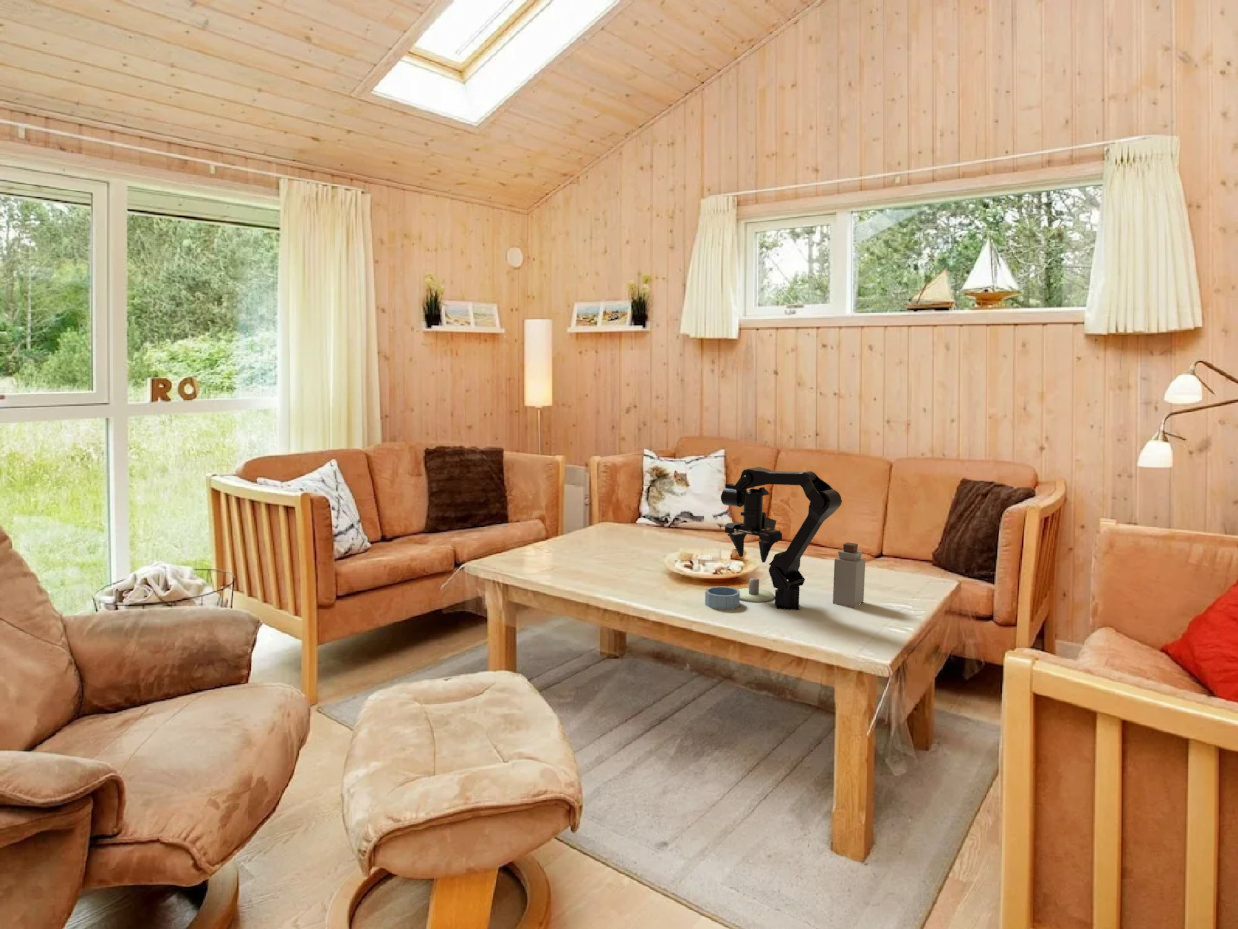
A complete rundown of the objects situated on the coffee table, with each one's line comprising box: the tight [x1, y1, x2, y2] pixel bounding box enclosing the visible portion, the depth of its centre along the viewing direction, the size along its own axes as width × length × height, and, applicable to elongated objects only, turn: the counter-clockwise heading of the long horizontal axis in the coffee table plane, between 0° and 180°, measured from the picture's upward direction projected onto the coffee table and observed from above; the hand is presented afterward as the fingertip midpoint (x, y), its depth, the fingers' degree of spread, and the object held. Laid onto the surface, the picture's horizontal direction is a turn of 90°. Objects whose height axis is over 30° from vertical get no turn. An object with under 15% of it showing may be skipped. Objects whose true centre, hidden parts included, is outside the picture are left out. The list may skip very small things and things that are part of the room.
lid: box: [737, 577, 775, 603], centre depth 236 cm, size 12×12×5 cm
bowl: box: [704, 585, 741, 610], centre depth 228 cm, size 10×10×4 cm
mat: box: [740, 595, 775, 604], centre depth 236 cm, size 13×13×1 cm
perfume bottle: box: [832, 542, 866, 608], centre depth 230 cm, size 7×7×18 cm
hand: (752, 559), depth 234 cm, fingers open, 9 cm apart
